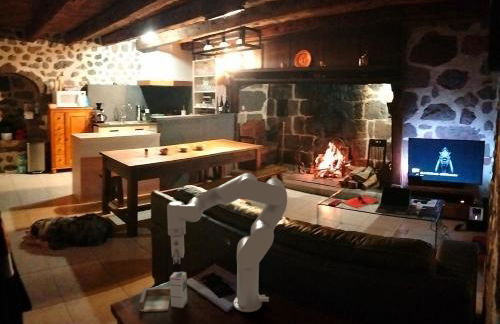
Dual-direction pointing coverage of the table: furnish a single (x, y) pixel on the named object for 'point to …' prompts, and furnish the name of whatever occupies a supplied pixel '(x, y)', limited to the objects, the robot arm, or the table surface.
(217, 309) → the table surface
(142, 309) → the board
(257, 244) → the robot arm
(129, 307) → the table surface
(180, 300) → the syrup box
